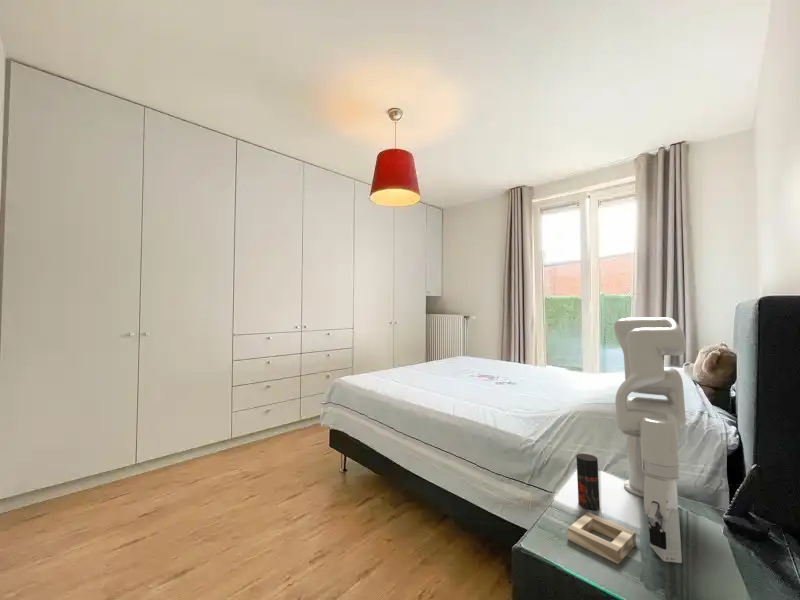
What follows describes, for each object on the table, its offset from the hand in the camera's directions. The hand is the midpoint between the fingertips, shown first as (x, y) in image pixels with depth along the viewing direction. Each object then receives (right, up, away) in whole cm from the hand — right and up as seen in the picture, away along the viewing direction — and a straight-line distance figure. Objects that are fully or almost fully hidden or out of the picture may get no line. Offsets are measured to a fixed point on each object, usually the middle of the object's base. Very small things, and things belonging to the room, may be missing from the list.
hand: (664, 538), depth 85 cm
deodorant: (-6, -6, +23) cm, 24 cm away
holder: (-13, -4, +5) cm, 14 cm away
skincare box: (0, -4, 0) cm, 4 cm away
